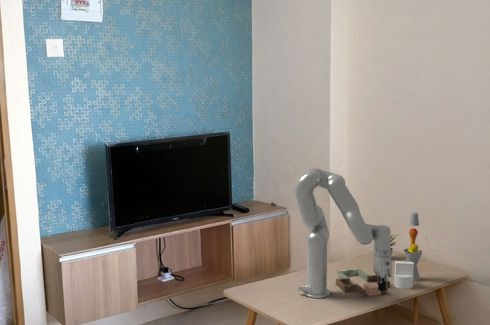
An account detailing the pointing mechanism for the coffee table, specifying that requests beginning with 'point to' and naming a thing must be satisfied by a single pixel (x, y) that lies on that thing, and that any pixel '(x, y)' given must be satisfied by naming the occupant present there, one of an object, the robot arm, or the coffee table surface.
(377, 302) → the coffee table surface
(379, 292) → the terracotta block
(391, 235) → the house plant
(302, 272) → the coffee table surface
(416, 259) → the lava lamp
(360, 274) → the box
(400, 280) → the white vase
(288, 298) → the coffee table surface
